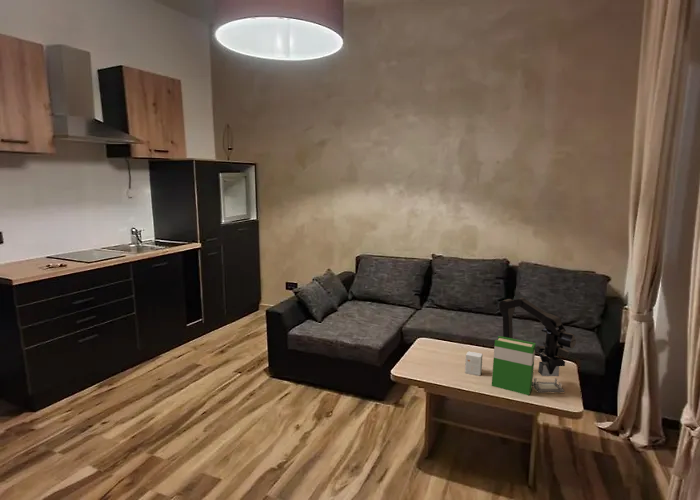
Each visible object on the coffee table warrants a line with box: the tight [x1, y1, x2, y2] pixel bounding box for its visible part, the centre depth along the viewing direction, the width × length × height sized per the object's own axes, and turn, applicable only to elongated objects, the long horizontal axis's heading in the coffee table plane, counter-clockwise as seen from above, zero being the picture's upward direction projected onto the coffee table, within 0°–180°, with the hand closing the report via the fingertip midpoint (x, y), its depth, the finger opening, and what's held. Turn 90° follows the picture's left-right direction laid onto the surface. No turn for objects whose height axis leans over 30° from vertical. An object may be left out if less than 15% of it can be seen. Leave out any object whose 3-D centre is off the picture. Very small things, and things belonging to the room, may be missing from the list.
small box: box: [464, 351, 483, 377], centre depth 232 cm, size 8×6×10 cm
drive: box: [537, 361, 560, 377], centre depth 215 cm, size 8×4×6 cm, turn 90°
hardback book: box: [491, 335, 537, 396], centre depth 215 cm, size 18×7×24 cm, turn 58°
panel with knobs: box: [532, 377, 566, 393], centre depth 216 cm, size 13×9×4 cm
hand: (548, 372), depth 215 cm, fingers closed on drive, 4 cm apart
